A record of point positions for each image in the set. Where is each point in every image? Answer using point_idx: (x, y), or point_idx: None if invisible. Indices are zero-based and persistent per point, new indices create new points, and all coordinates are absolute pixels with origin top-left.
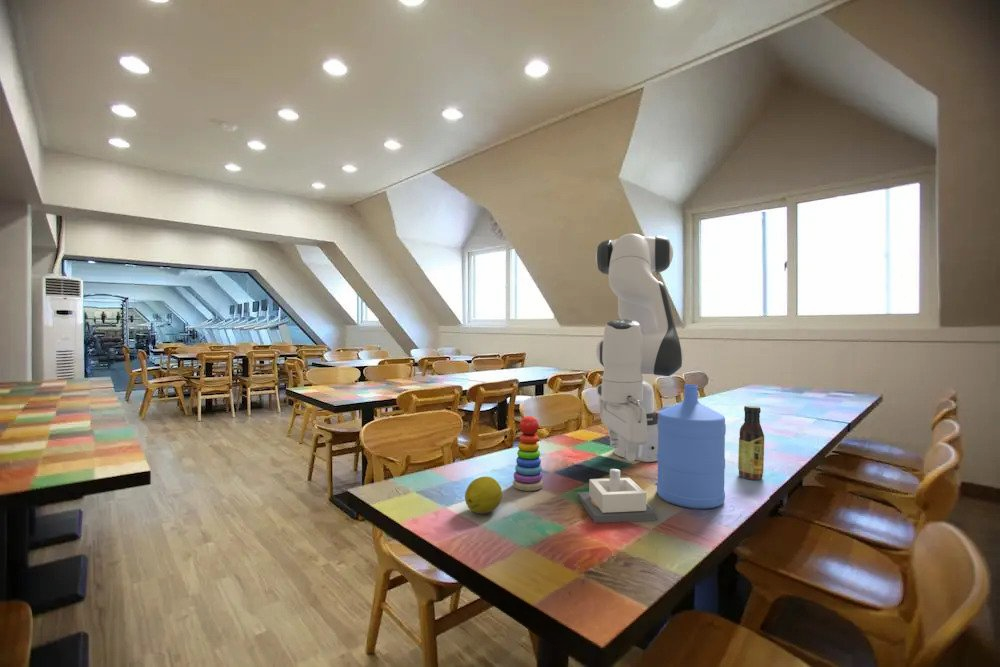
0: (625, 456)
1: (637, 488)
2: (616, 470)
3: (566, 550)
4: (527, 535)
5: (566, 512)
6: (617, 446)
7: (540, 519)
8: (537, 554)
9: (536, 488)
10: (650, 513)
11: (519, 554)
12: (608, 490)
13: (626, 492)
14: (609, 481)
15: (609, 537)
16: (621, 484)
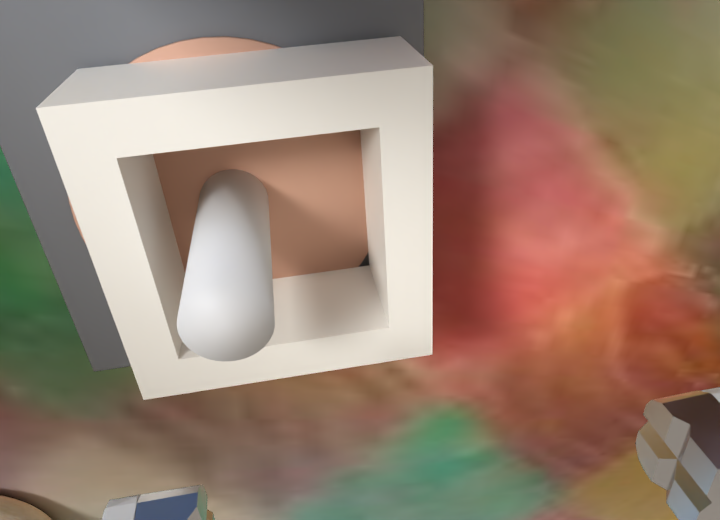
0: (671, 478)
1: (327, 110)
2: (227, 314)
3: (611, 403)
4: (487, 497)
5: (297, 397)
6: (202, 508)
7: (366, 474)
8: (610, 468)
9: (43, 518)
10: (423, 11)
11: (596, 503)
12: (166, 250)
13: (409, 214)
14: (157, 280)
15: (560, 263)
16: (132, 178)
